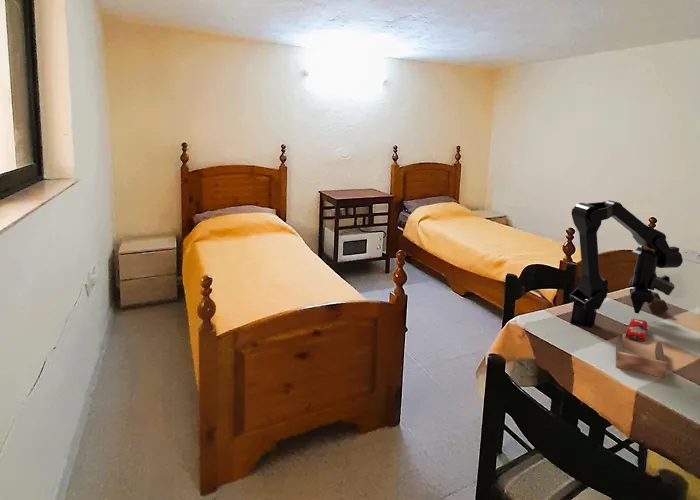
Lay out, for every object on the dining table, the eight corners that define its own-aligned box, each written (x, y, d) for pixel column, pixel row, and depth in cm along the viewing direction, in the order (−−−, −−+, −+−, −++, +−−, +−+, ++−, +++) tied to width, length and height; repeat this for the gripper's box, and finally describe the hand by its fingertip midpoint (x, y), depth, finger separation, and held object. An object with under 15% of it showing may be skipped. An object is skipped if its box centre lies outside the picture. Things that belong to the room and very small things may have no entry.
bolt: (651, 304, 173) (659, 318, 159) (638, 296, 174) (645, 309, 160) (662, 293, 170) (671, 305, 157) (650, 284, 172) (658, 296, 158)
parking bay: (615, 366, 124) (618, 353, 123) (616, 342, 137) (618, 330, 136) (664, 377, 118) (667, 363, 117) (659, 352, 132) (662, 339, 131)
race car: (643, 344, 137) (646, 332, 136) (623, 339, 140) (625, 327, 139) (648, 329, 147) (651, 318, 146) (629, 325, 151) (631, 313, 149)
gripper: (678, 280, 138) (668, 328, 142) (672, 264, 153) (663, 308, 157) (635, 274, 143) (626, 320, 147) (633, 259, 158) (625, 302, 163)
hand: (636, 312), depth 153 cm, fingers closed
